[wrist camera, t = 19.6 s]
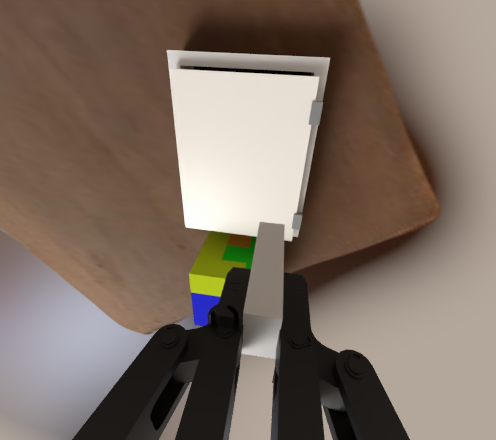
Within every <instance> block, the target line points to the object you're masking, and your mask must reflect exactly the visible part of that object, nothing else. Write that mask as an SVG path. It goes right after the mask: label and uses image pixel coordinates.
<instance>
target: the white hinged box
mask: <svg viewBox="0 0 496 440" xmlns="http://www.w3.org/2000/svg"><path fill="white" fill-rule="evenodd" d="M167 55H168V65H169V69H189V70H194V66H201V67H220V68H239V69H259V70H278V71H297V72H311V76H317V77H319V83H318V89H317V95H316V101H323V95H324V90H325V84H326V79H327V73H328V68H329V62H330V58H326V57H305V56H283V55H262V54H240V53H219V52H197V51H175V50H167ZM169 74H170V72H169ZM170 84H171V82H170ZM171 94H172V92H171ZM172 103H173V101H172ZM173 113H174V111H173ZM174 122H175V121H174ZM317 128H318V125H311V131H310V137H309V143H308V148H307V154H306V160H305V166H304V172H303V178H302V184H301V190H300V196H299V202H298V208H297V212H302V211H303V205H304V200H305V194H306V189H307V183H308V178H309V172H310V167H311V161H312V156H313V150H314V145H315V139H316V134H317ZM175 132H176V130H175ZM176 142H177V140H176ZM177 151H178V149H177ZM178 161H179V159H178ZM179 170H180V169H179ZM180 180H181V178H180ZM181 189H182V188H181ZM182 199H183V198H182ZM183 209H184V207H183ZM184 218H185V217H184ZM298 233H299V229H294V232H293V237H298Z"/></svg>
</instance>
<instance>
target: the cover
mask: <svg viewBox="0 0 496 440" xmlns="http://www.w3.org/2000/svg"><path fill="white" fill-rule="evenodd" d="M169 72H170V82H171V92H172V101H173V111H174V121H175V130H176V140H177V149H178V159H179V169H180V178H181V188H182V198H183V207H184V217H185V226H186V227H187V228H195V229H202V230H210V231H217V232H225V233H233V234H240V235H248V236H255V237H257V234H258V228H259V223H260V222H266V223H276V224H285V230H284V240H286V241H292V237H293V232H294V229H299V230H300V226H301V221H302V216H303V215H302V212H297V208H298V202H299V196H300V190H301V184H302V178H303V172H304V166H305V160H306V154H307V148H308V143H309V137H310V131H311V125H319V123H320V118H321V112H322V107H323V102H322V101H316V95H317V89H318V83H319V77H317V76H299V75H281V74H262V73H244V72H225V71H207V70H189V69H169Z"/></svg>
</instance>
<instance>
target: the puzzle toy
mask: <svg viewBox="0 0 496 440" xmlns="http://www.w3.org/2000/svg"><path fill="white" fill-rule="evenodd" d="M256 239H257V237H255V236H248V235H240V234H233V233H225V232H217V231H210V233H209V235H208V237H207V239H206V241H205V243H204V245H203V247H202V249H201V251H200V253H199V255H198V257H197V259H196V261H195V263H194V265H193V267H192V269H191V271H190V273H189V278H190V287H191V296H192V305H193V314H194V323H195V325H200V326H205V325H207V324H208V312H209V311H210V309H211V308H212V307H213V306H215V305H216V304H219V300H220V297H221V293H222V290H223V286H224V283H225V279H226V276H227V273H228V272H229V271H230V270H231V269H232V268H233V267H239V268H246V269H251V267H252V261H253V256H254V250H255V245H256Z"/></svg>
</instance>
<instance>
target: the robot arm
mask: <svg viewBox="0 0 496 440" xmlns="http://www.w3.org/2000/svg"><path fill="white" fill-rule="evenodd" d="M284 230H285V224H276V223H266V222H260V223H259V228H258V234H257V239H256V245H255V250H254V256H253V261H252V267H251V269H246V268H239V267H233V268H232V269H231V270H230V271H229V272H228V273H227V276H226V279H225V283H224V286H223V290H222V293H221V297H220V300H219V304H216V305H215V306H213V307H212V308H211V309H210V311H209V312H208V324H207V325H205V326H203V327H200V328H197V329H191V330H185V328H183V327H182V326H180V325H177V324H170V325H166V326H164V327H162V328H160V329H159V330H158V331H157V332H156V333H155V334H154V335H153V337H152V338H151V339H150V341H149V342H148V343H147V344H146V346H145V347H144V348H143V350H142V351H141V352H140V353H139V355H138V356H137V357H136V359H135V360H134V361H133V362H132V364H131V365H130V366H129V368H128V369H127V370H126V371H125V373H124V374H123V375H122V377H121V378H120V379H119V381H118V382H117V383H116V384H115V385H114V387H113V388H112V389H111V391H110V392H109V393H108V394H107V396H106V397H105V398H104V400H103V401H102V402H101V403H100V405H99V406H98V407H97V409H96V410H95V411H94V413H93V414H92V415H91V416H90V418H89V419H88V420H87V421H86V423H85V424H84V425H83V426H82V428H81V429H80V430H79V432H78V433H77V434H76V435H75V437H74V438H73V439H72V440H159V438H160V436H161V434H162V432H163V431H164V429H165V427H166V425H167V423H168V421H169V420H170V418H171V416H172V414H173V412H174V411H175V409H176V407H177V405H178V403H179V401H180V400H181V398H182V396H183V394H184V392H185V390H186V388H187V387H188V385H189V383H190V382H192V384H191V388H190V391H189V394H188V398H187V401H186V404H185V408H184V411H183V415H182V418H181V421H180V425H179V428H178V431H177V435H176V438H175V440H228V439H229V433H230V427H231V420H232V414H233V408H234V401H235V395H236V388H237V382H238V376H239V369H240V358H241V354H247V355H254V356H260V357H266V358H272V359H275V358H276V361H275V362H276V363H275V370H274V376H273V381H272V383H273V384H274V385H273V406H272V425H271V426H272V427H271V440H324V429H323V419H322V408H321V404H322V405H323V408H324V412H325V415H326V418H327V422H328V425H329V428H330V432H331V435H332V438H333V440H410V439H409V437H408V435H407V433H406V431H405V429H404V427H403V425H402V423H401V421H400V419H399V417H398V415H397V414H396V411H395V409H394V407H393V405H392V403H391V402H390V400H389V398H388V396H387V394H386V392H385V390H384V388H383V386H382V384H381V382H380V380H379V378H378V376H377V374H376V372H375V370H374V368H373V366H372V365H371V363H370V362H369V360H368V359H367V358H366V357H364V356H363V355H362V354H361V353H359V352H356V351H354V350H344V351H341V352H340V353H338V352H336V351H334V350H332V349H329V348H327V347H326V346H324V345H322V344H321V343H320V342H319V341H317V339H316V338H315V337H314V335H313V333H312V331H311V325H310V314H309V304H308V292H307V283H306V281H305V279H304V277H303V276H302V275H299V274H291V273H284Z"/></svg>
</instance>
